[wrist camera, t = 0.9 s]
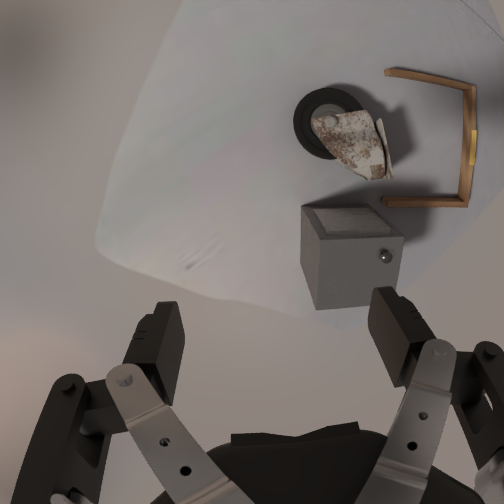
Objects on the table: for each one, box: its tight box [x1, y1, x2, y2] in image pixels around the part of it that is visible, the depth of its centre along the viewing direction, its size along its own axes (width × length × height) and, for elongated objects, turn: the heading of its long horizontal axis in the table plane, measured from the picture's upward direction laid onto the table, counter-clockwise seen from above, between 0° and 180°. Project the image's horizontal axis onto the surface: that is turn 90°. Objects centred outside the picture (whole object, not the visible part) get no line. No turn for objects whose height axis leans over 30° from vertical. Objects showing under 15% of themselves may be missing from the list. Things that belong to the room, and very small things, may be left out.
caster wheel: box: [293, 88, 394, 181], centre depth 33 cm, size 7×11×10 cm
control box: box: [300, 204, 405, 310], centre depth 36 cm, size 9×9×12 cm
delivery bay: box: [382, 68, 477, 207], centre depth 35 cm, size 18×14×2 cm
